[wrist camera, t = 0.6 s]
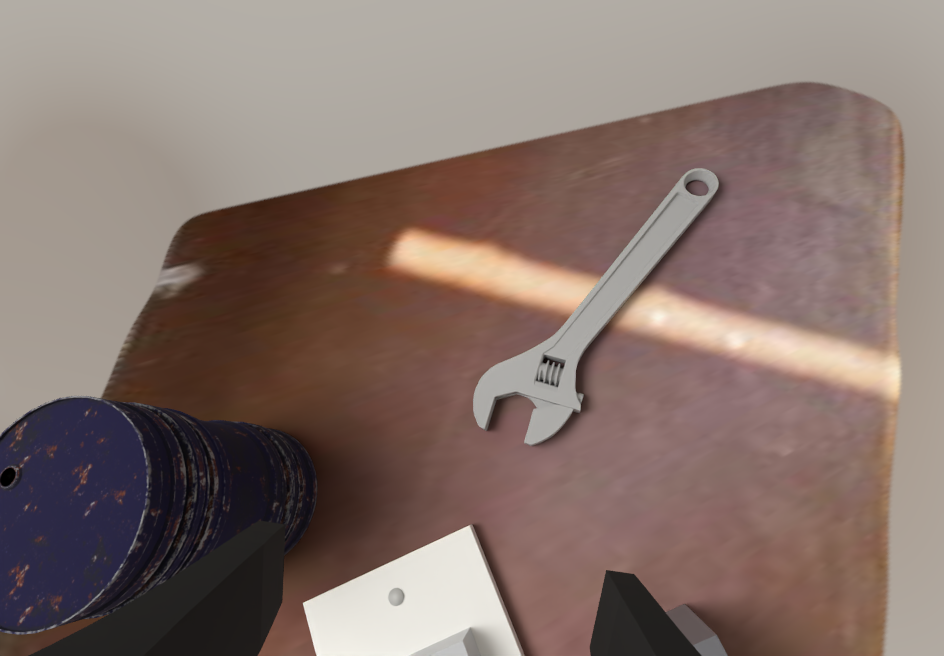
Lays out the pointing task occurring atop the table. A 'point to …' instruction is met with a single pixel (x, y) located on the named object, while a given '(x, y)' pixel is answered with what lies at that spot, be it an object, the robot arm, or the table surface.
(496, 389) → the adjustable wrench
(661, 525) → the table surface
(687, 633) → the block
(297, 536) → the dark blue barrel
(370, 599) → the outlet plate
